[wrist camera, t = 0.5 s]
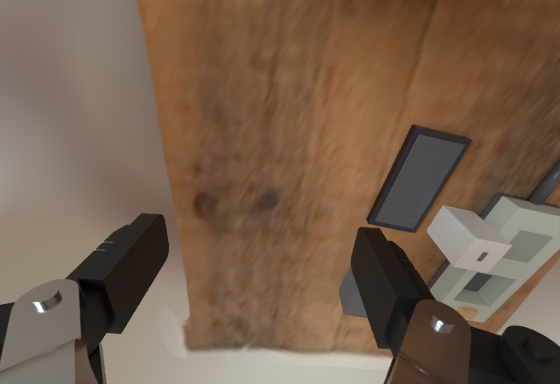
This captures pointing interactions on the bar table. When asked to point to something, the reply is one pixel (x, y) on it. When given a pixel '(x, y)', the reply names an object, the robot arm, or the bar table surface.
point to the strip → (515, 263)
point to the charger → (467, 239)
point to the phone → (417, 178)
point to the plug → (351, 297)
